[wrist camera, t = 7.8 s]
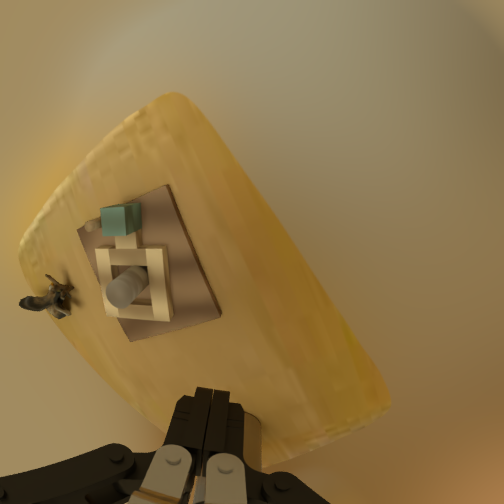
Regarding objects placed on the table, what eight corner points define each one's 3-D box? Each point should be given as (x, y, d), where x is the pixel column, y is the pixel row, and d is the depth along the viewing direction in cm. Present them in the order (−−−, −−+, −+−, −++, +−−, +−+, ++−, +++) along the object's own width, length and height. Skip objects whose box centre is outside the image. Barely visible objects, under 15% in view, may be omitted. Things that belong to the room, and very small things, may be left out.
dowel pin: (110, 223, 31) (94, 229, 27) (103, 227, 31) (86, 233, 27) (107, 214, 30) (90, 219, 26) (100, 218, 30) (83, 223, 26)
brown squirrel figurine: (50, 256, 32) (20, 287, 32) (43, 289, 27) (13, 321, 26) (84, 285, 37) (53, 312, 37) (83, 319, 32) (51, 345, 32)
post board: (221, 313, 35) (213, 349, 27) (133, 337, 36) (110, 371, 28) (168, 184, 31) (141, 187, 23) (81, 228, 32) (43, 241, 24)
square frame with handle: (173, 314, 33) (163, 332, 29) (112, 310, 33) (97, 325, 29) (164, 201, 30) (150, 205, 26) (98, 205, 30) (79, 210, 26)
